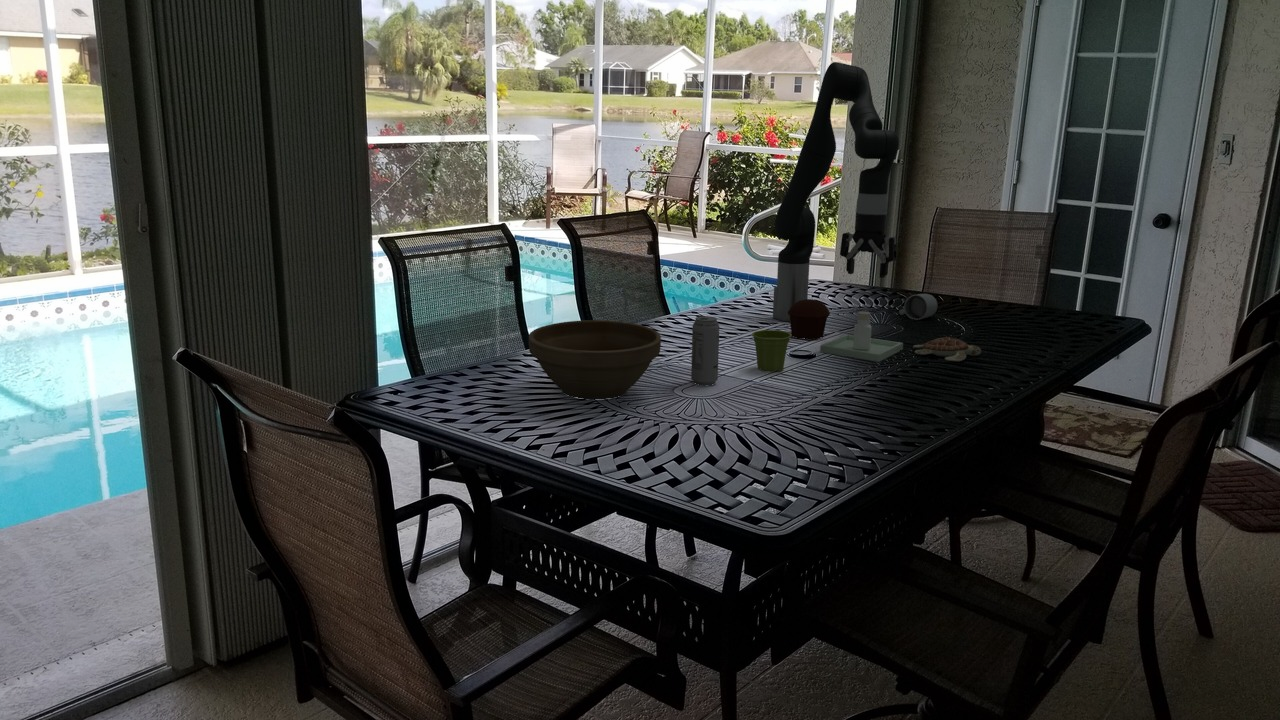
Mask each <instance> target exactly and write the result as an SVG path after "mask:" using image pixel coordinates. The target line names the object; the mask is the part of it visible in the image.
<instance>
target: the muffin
mask: <svg viewBox="0 0 1280 720" xmlns="http://www.w3.org/2000/svg"><path fill="white" fill-rule="evenodd" d="M788 314H789V315H790V321H789V323H790V334H791V335H792V336H791V337H793V336H794V337H793V338H795V337H797V338H796V339H799V338H805V339H804V340H818V339H817V338H819V339H821V338H820V337H823V338H824V334H825V329H826V325H827V320H828V317H829V316H830V314H831V311H830V310H829V308H828V307H827V306H826V305H825V304H824V303H823V302H822V301H819V300H817V299H813V298H812V299H811V298H808V299H805V300H800V301H798V302H796V303H795V304H793V306H792V307H791V308H790V310H789V311H788Z"/></svg>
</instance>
